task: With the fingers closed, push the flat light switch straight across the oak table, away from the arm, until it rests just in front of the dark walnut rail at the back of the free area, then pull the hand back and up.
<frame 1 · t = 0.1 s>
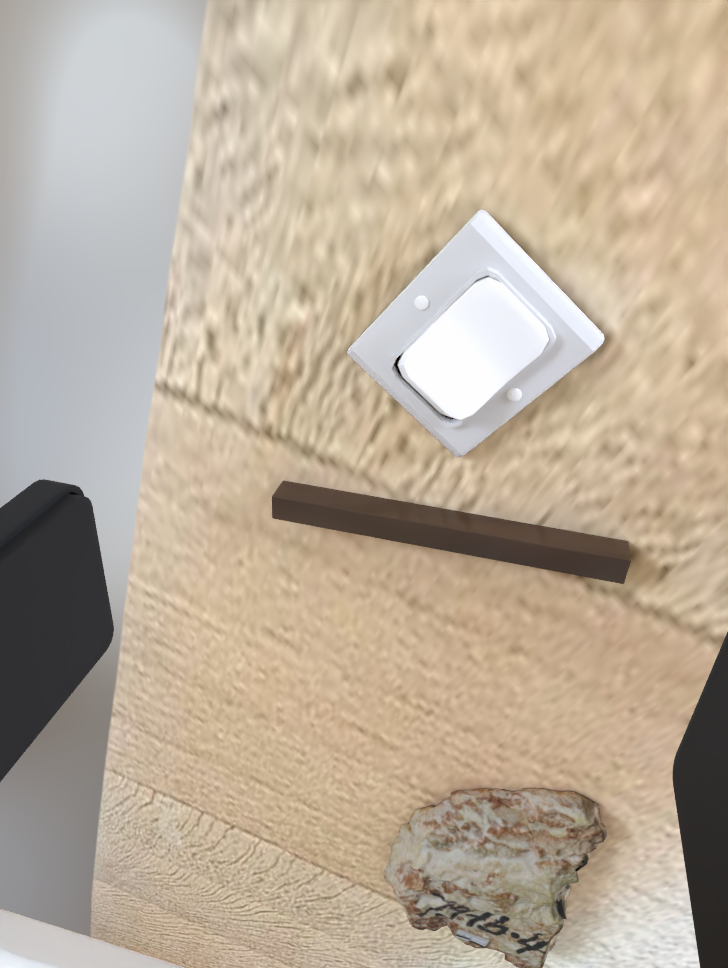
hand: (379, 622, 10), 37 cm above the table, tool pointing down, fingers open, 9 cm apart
light switch: (470, 341, 46), on the table
stone: (493, 847, 71), on the table
back rail: (446, 520, 53), on the table
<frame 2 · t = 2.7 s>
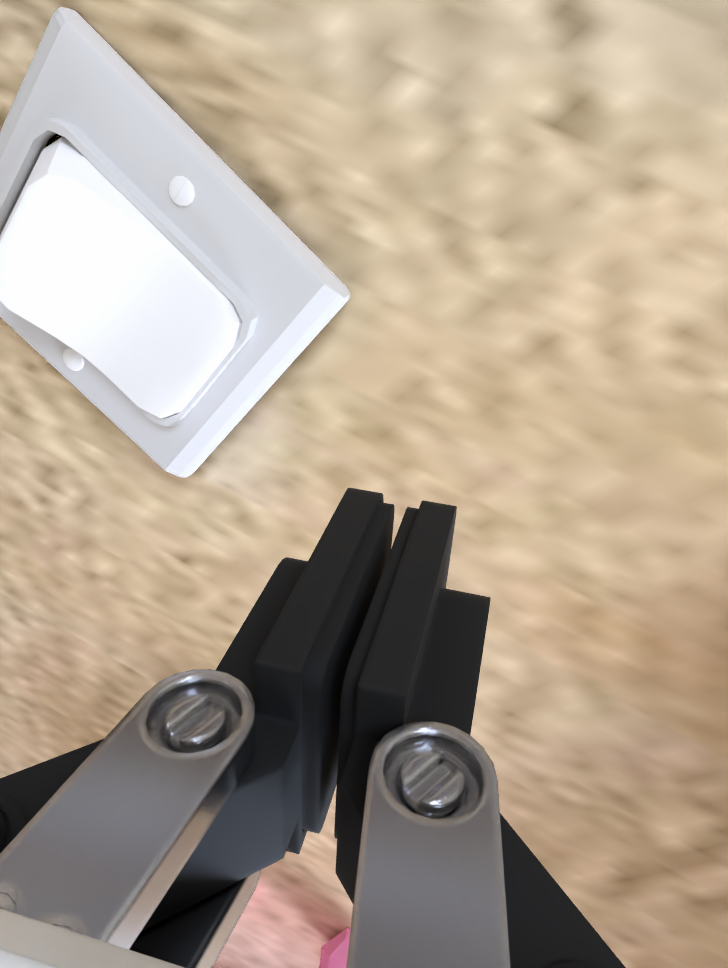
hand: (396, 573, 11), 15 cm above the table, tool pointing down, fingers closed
light switch: (146, 268, 26), on the table
cat: (257, 954, 51), on the table
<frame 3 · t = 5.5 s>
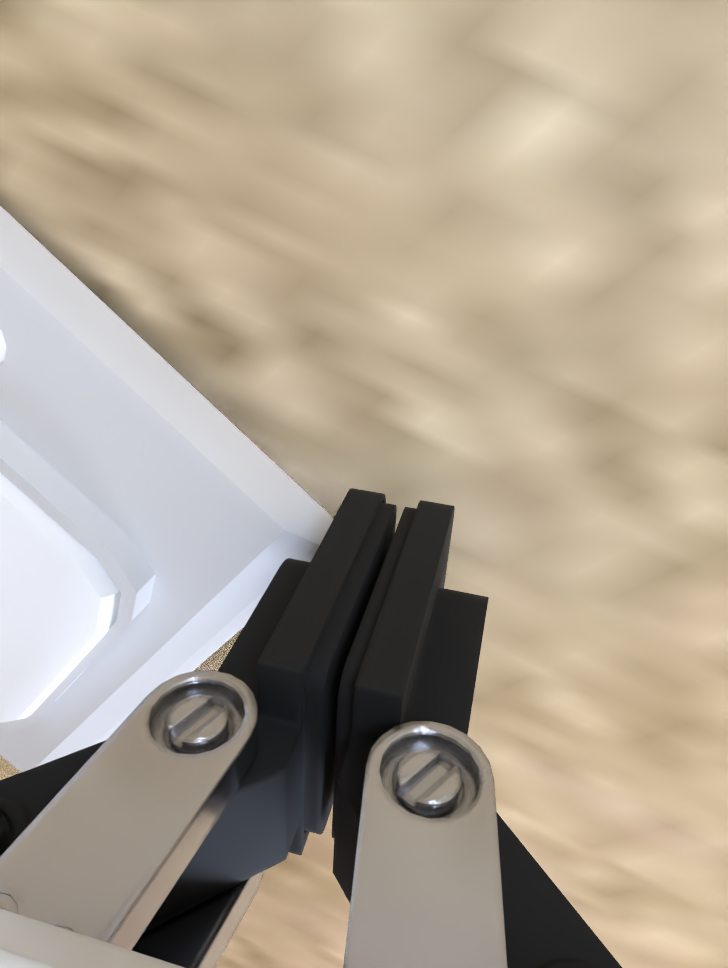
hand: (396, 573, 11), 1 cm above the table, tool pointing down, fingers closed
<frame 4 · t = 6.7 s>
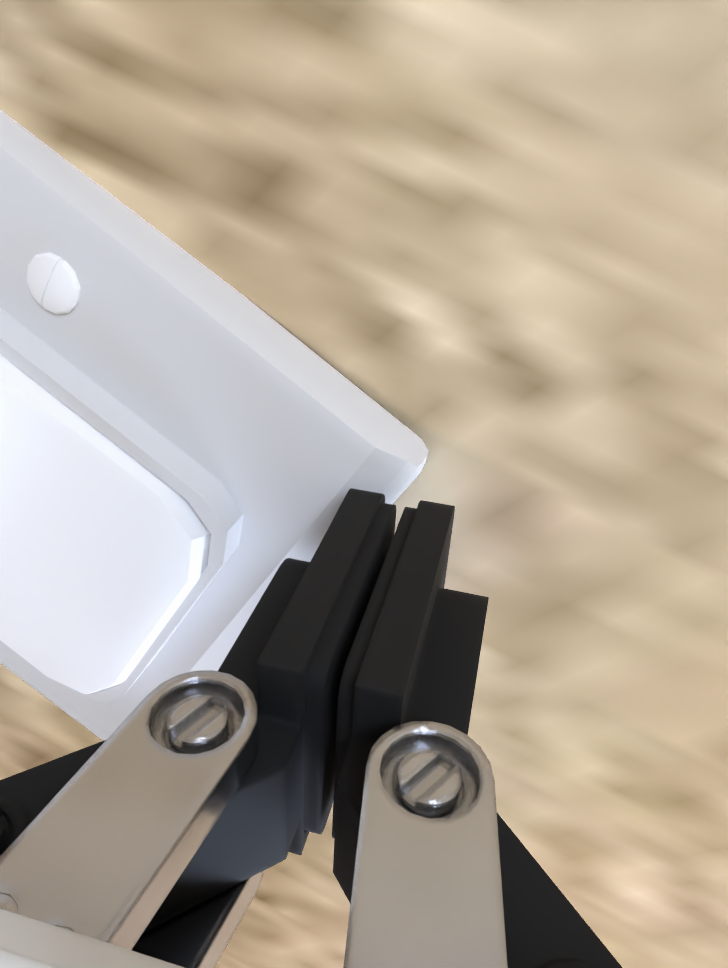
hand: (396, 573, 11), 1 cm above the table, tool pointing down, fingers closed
light switch: (42, 418, 14), on the table
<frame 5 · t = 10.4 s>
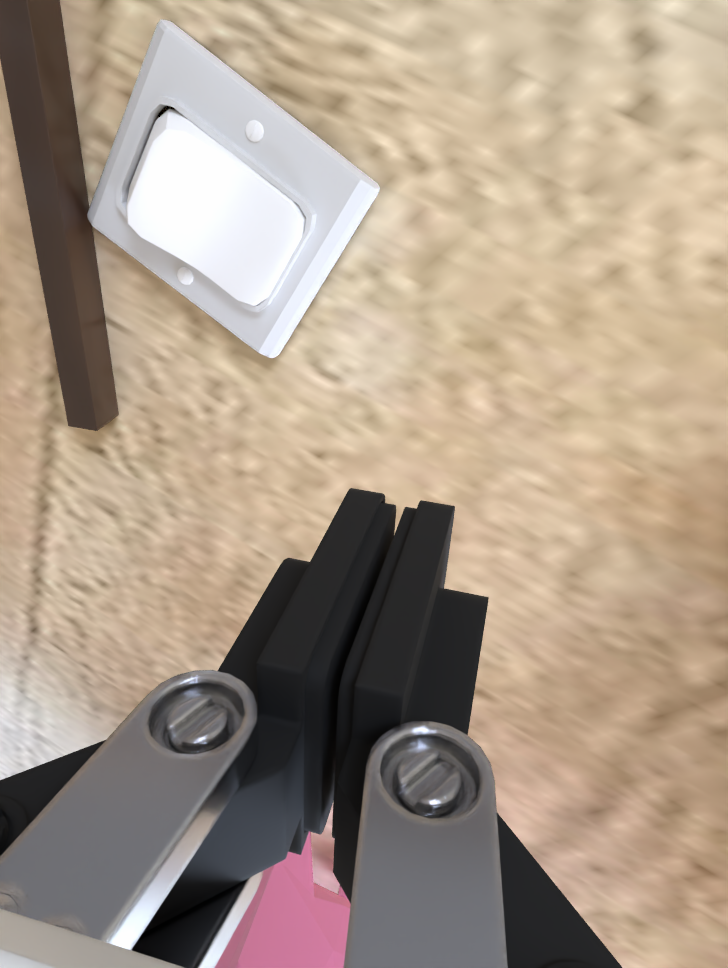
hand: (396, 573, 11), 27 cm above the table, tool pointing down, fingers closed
light switch: (230, 200, 37), on the table
back rail: (72, 197, 38), on the table
cat: (340, 818, 61), on the table
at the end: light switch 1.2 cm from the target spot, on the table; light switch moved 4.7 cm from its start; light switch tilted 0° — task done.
